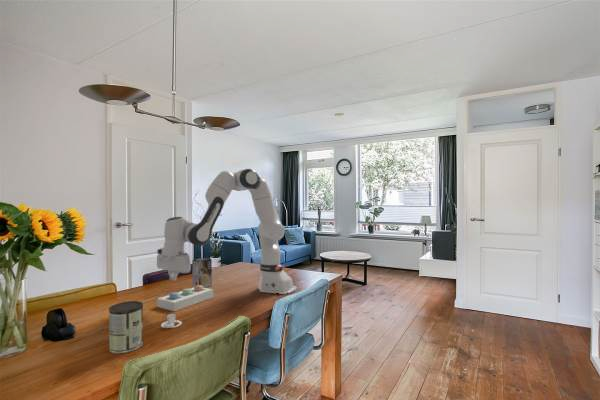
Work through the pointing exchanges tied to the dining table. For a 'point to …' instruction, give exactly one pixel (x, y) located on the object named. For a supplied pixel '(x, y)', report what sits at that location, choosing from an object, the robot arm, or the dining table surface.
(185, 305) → the button panel
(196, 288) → the terracotta button
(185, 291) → the sage button
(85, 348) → the dining table surface
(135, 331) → the coffee can
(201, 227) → the robot arm
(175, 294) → the blue button
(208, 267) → the coffee box
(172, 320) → the teacup and saucer
